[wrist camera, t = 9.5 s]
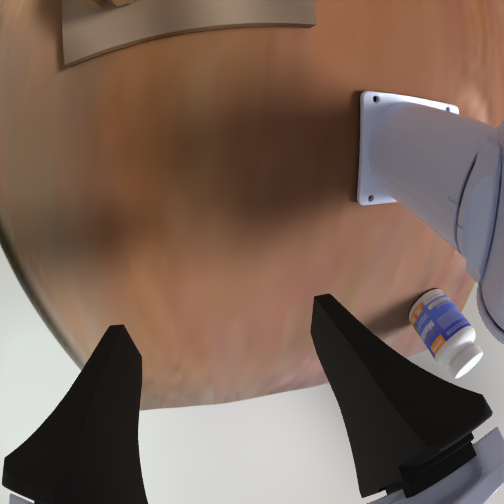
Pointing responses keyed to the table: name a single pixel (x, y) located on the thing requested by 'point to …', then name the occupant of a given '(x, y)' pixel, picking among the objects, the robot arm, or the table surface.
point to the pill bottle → (445, 332)
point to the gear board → (168, 21)
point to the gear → (98, 1)
